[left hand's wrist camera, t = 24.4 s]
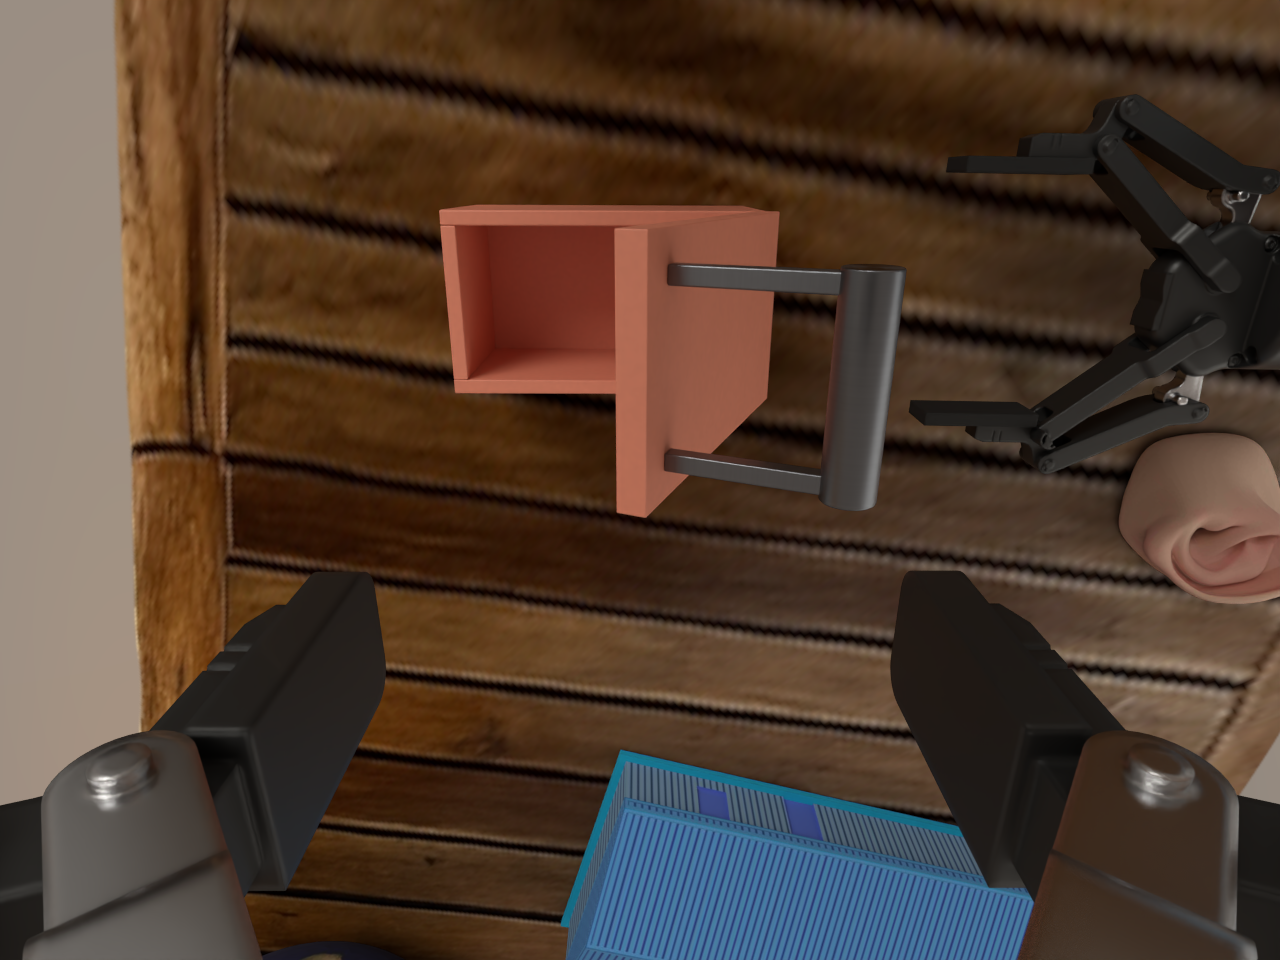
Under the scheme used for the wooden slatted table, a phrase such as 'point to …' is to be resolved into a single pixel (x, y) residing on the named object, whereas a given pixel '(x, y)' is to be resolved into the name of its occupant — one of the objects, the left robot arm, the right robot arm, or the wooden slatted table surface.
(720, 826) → the model building
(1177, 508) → the anatomical model
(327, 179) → the wooden slatted table surface
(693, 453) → the lid
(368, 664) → the left robot arm
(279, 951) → the globe
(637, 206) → the chest
